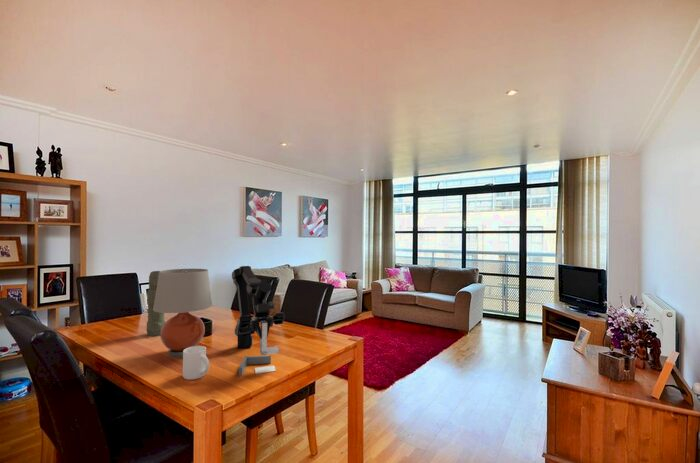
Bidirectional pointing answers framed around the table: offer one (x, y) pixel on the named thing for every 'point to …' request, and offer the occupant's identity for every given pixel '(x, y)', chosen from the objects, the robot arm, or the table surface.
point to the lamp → (182, 307)
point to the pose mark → (265, 369)
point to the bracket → (263, 342)
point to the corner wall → (253, 361)
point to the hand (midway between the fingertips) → (264, 338)
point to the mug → (195, 362)
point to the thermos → (154, 318)
